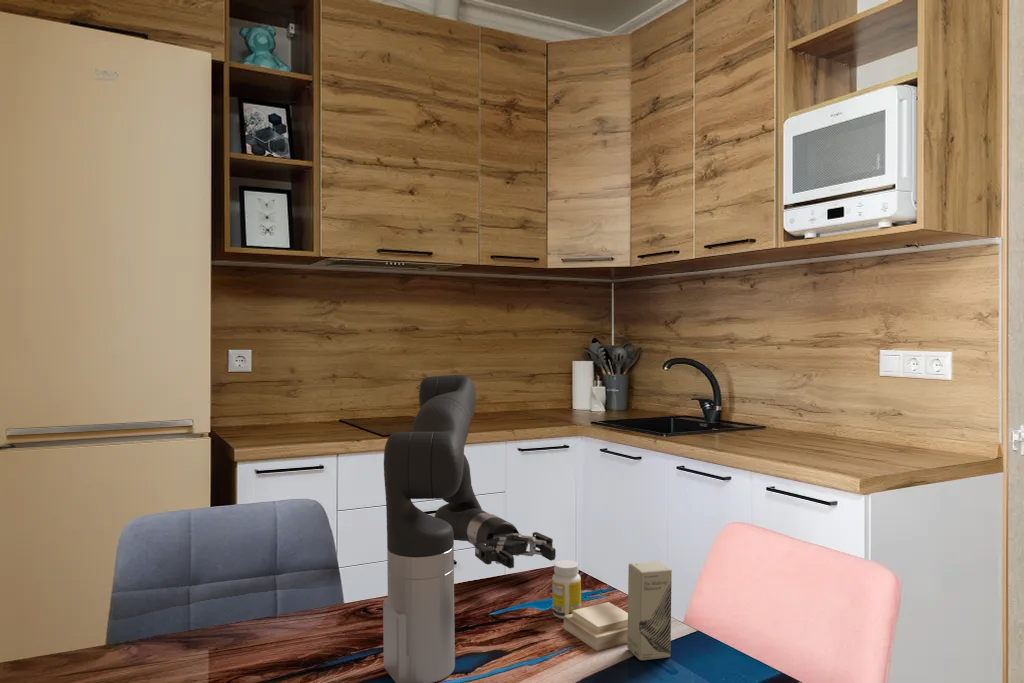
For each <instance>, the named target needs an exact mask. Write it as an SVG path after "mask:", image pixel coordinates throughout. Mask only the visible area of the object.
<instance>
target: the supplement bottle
mask: <svg viewBox="0 0 1024 683" xmlns="http://www.w3.org/2000/svg"><path fill="white" fill-rule="evenodd" d="M553 564H554V569H553V571H554V574H553V575H552V577H551V585H552V586H551V590H552V595H551V597H552V598H551V599H552V614H553V615H554V617H556V618H559V619H562V620H564V616H565V615H569V614H572V610H577V609H581V608H582V579H581V578H582V577H581V574H579V563H578V562H577V561H575V560H571V559H570V560H569V559H561V560H558V561H555V562H554V563H553Z"/></svg>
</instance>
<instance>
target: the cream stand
mask: <svg viewBox="0 0 1024 683" xmlns="http://www.w3.org/2000/svg"><path fill="white" fill-rule="evenodd" d="M563 629H564V630H565V631H567V632H568V633H570V634H571V635H573V636H574V637H575V638H577V639H578V640H580V641H582V642H583V643H585V645H587V646H588V647H590V648H592V649H593V650H595V652H599V651H602V650H606V649H609V648H613V647H617V646H620V645H623V644H627V631H628V611H625V610H624V609H621V608H620V607H618V606H616V605H614V604H613V603H611V602H610V601H607V602H603V603H599V604H594V605H590V606H586V607H581V609H577V610H572V614H569V615H565V616H564V619H563Z"/></svg>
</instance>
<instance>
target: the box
mask: <svg viewBox="0 0 1024 683" xmlns="http://www.w3.org/2000/svg"><path fill="white" fill-rule="evenodd" d="M672 573H673V572H672V569H671V568H669V567H667V565H665V564H663V563H662V562H661V561H659V560H655V561H640V562H631V563H630V562H629V563H628V581H627V582H628V584H627V585H628V586H627V587H628V590H627V591H628V592H627V593H628V595H627V613H628V631H627V643H626V646H627V649H628V650H629V651H630V652H631V653H632V654H633V655H634V656H635V657H636V658H637V659H638V660H639V661H648V660H650V661H651V660H656V659H664V658H670V657H671V651H672V650H671V646H672V645H671V644H672V643H671V642H672V639H671V638H672V637H671V636H672V635H671V634H672V583H673V582H672Z"/></svg>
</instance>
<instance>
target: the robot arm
mask: <svg viewBox="0 0 1024 683" xmlns="http://www.w3.org/2000/svg"><path fill="white" fill-rule="evenodd" d="M476 391H477V390H476V388H475V384H474V382H473V380H472V379H471V378H470V377H469V376H467V375H463V374H450V375H436V376H435V375H434V376H433V375H432V376H426V377H424V378H423V379H422V380H421V381H420V383H419V390H418V402H419V403H418V404H419V410H418V412H417V413H416V415H415V418H414V420H413V423H412V431H400V432H394V433H392V434H390V435H389V436H388V438H387V439H386V443H385V444H384V450H383V477H384V478H383V479H384V491H385V508H386V551H387V552H386V554H387V555H386V557H387V560H386V561H387V562H386V564H387V569H386V570H387V572H386V573H387V575H386V576H387V599H384V600H383V601H382V619H383V620H382V623H383V625H382V627H383V628H382V630H383V634H382V635H383V641H382V642H383V643H382V644H383V668H384V669H385V671H386V672H387V673H388V675H389V676H390V677H391V679H392V680H393V681H394V683H435V682H439V681H441V680H444V679H446V678H448V677H450V675H451V674H453V672H454V670H455V668H456V662H455V661H456V649H455V648H456V647H455V643H456V642H455V640H456V639H455V638H456V637H455V636H456V635H455V568H454V567H455V559H454V558H455V557H454V556H455V554H454V553H455V551H454V550H455V549H454V545H455V541H458V542H459V541H461V542H468V543H469V544H471V545H473V547H474V556H475V557H476V558H477V559H478V560H479V561H481V562H482V563H484V564H485V565H492V562H495V564H497V565H502V566H504V567H506V568H508V569H514V567H515V557H516V556H517V557H518V556H525V557H533V556H535V555H537V556H541V557H542V558H545V559H547V560H549V561H555V560H556V552H557V551H556V548H554V547H553V546H554V545H553V542H554V541H553V538H551V537H549V536H546V535H544V534H542V533H540V532H538V531H537V532H536V531H535V532H532V536H531V535H523V534H521V533H519V530H518V529H517V527H516V526H515V525H514V524H512V523H511V522H509V521H508V520H505V519H503V518H501V517H499V516H498V515H495V514H492V513H489V512H487V511H485V510H483V509H482V506H481V505H480V503H479V501H478V499H477V497H476V495H475V492H474V489H473V486H472V476H471V468H470V463H469V459H467V456H466V454H465V445H466V441H467V439H468V435H469V431H470V422H471V420H472V418H473V416H474V414H475V412H476V406H477V405H476V404H477V392H476ZM437 499H438V500H440V499H441V500H443V501H444V502H445V503H446V504H444V505H442V506H440V507H439V508H438V509H437V510H436V512H435V514H434V516H433V515H431V514H428V513H426V512H425V511H423V510H422V509H420V508H418V507H417V506H416V505H414V503H413V501H412V500H437ZM528 546H529V550H527V549H528ZM514 556H515V557H514Z"/></svg>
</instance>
